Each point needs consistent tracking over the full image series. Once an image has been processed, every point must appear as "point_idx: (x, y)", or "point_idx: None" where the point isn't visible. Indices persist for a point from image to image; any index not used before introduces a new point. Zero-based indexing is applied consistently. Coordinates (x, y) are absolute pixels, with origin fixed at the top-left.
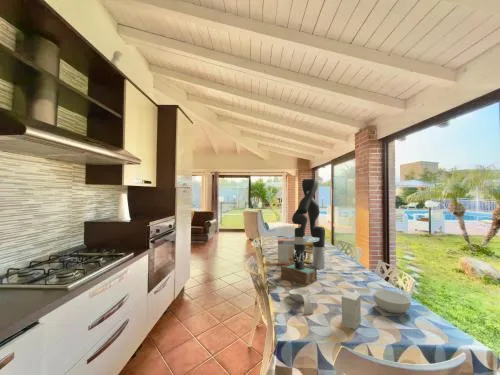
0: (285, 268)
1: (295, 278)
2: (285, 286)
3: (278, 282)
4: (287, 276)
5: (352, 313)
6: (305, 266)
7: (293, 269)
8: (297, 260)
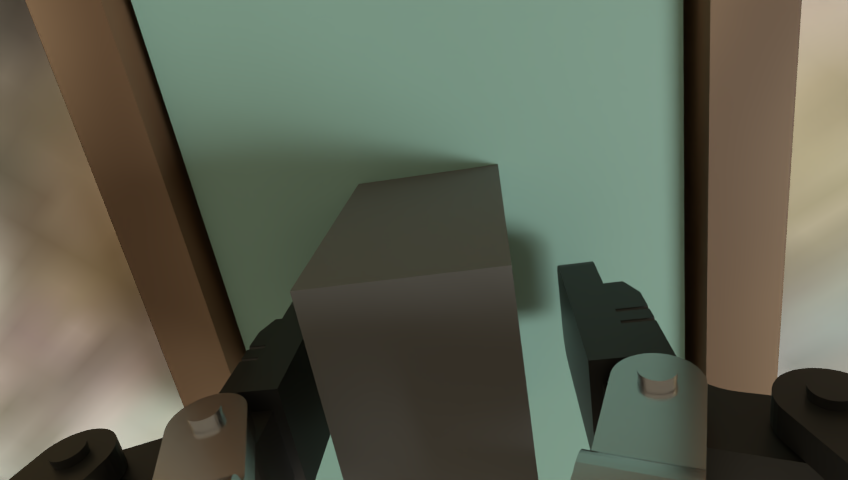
0: (58, 38)
1: None
2: (51, 252)
3: (20, 48)
4: None
5: None
6: (712, 330)
7: (175, 312)
8: (451, 328)
